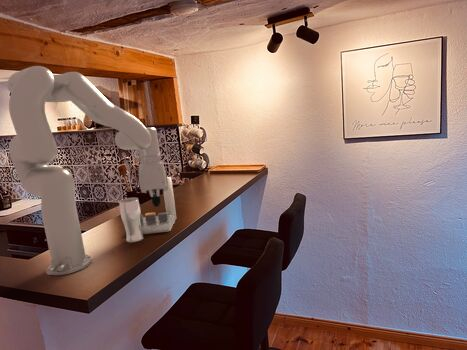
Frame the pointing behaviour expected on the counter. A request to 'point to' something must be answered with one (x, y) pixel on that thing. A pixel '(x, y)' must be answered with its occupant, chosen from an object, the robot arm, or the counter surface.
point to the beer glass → (131, 219)
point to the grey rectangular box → (163, 216)
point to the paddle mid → (150, 217)
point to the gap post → (169, 199)
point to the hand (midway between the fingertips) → (157, 205)
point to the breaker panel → (157, 225)
